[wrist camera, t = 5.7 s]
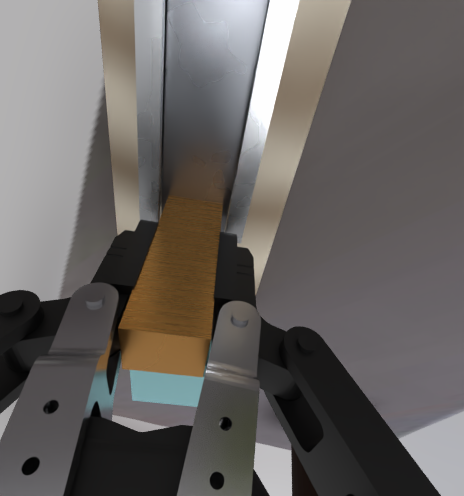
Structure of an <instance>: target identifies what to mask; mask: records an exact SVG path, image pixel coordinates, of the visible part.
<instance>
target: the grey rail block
mask: <svg viewBox="0 0 464 496" xmlns="http://www.w3.org/2000/svg"><path fill="white" fill-rule="evenodd" d="M267 6H268V0H167V25H166V61H165V98H164V134H163V171H162V207H161V217H160V220H159V224H158V227H157V229H156V232H155V235H154V237H153V240H152V243H151V245H150V248H149V251H148V253H147V256H146V259H145V261H144V264H143V266H142V269H141V272H140V274H139V277H138V280H137V282H136V285H135V288H133V290H132V293H131V296H130V298H129V301H128V304H127V306H126V309H125V311H124V314H123V317H122V319H121V322H120V325H119V327H118V332H119V341H120V351H121V360H122V369H129V370H138V371H147V372H157V373H166V374H175V375H185V376H194V377H203V374H204V369H205V364H206V360H207V355H208V350H209V346H210V341H211V332H212V321H213V310H214V289H215V278H216V267H217V257H218V246H219V235H220V232H224V231H225V226H226V221H227V216H228V210H229V205H230V200H231V195H232V189H233V184H234V179H235V174H236V168H237V163H238V158H239V153H240V147H241V142H242V137H243V132H244V126H245V121H246V116H247V111H248V105H249V100H250V95H251V90H252V84H253V79H254V74H255V69H256V63H257V58H258V53H259V48H260V42H261V37H262V32H263V27H264V21H265V16H266V11H267Z"/></svg>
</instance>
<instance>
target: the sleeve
mask: <svg viewBox="0 0 464 496" xmlns="http://www.w3.org/2000/svg"><path fill="white" fill-rule="evenodd" d="M298 3H299V0H268V6H267V11H266V16H265V21H264V27H263V32H262V37H261V42H260V48H259V53H258V58H257V63H256V69H255V74H254V79H253V84H252V90H251V95H250V100H249V105H248V111H247V116H246V121H245V126H244V132H243V137H242V142H241V147H240V153H239V158H238V163H237V168H236V174H235V179H234V184H233V189H232V195H231V202H230V208H229V213H228V218H227V223H226V229H225V232H226V233H233V234H237V243H241V241H242V237H243V233H244V228H245V224H246V220H247V216H248V212H249V208H250V203H251V199H252V195H253V191H254V187H255V183H256V178H257V174H258V170H259V166H260V162H261V158H262V153H263V149H264V145H265V141H266V137H267V133H268V128H269V124H270V120H271V116H272V112H273V107H274V103H275V99H276V95H277V91H278V87H279V82H280V78H281V74H282V70H283V66H284V62H285V57H286V53H287V49H288V45H289V41H290V37H291V32H292V28H293V24H294V20H295V16H296V12H297V7H298ZM134 22H135V60H136V99H137V137H138V175H139V214H140V220H148V221H155V222H159V220H160V207H161V204H162V171H163V134H164V98H165V61H166V25H167V0H134Z"/></svg>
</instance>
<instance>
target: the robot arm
mask: <svg viewBox="0 0 464 496" xmlns="http://www.w3.org/2000/svg"><path fill="white" fill-rule="evenodd" d="M158 224H159V222H155V221H148V220H140V221H139V223H138V225H137V228H136V230H135V231H130V230H124V231H123V232H122V233H120V234H119V235H118V236H116V237H115V239H114V241H113V243H112V245H111V248H109V250H108V252H107V255H106V256H105V257H104V259H103V261H102V263H101V265H100V267H99V269H98V270H97V272H96V274H95V276H94V278H93V280H92V281H91V283H90V284H87V285H84V286H82V287H80V288H79V289H78V290H76V291H75V292H74V294H73V295H72V297H69V298H66V299H59V300H51V301H43V302H40V300H39V298H38V296H37V295H36V294H34V293H33V292H30V291H24V290H17V291H11V292H7V293H4V294H2V295H0V413H2V412H3V411H4V410H5V409H6V408H7V407H9V406H10V405H11V404H12V403H13V402H14V401H15V400H17V399H18V398H19V399H18V401H17V403H16V405H15V408H14V410H13V412H12V415H11V417H10V419H9V421H8V424H7V426H6V428H5V431H4V433H3V435H2V438H1V440H0V496H269V494H268V492H267V491H266V489H265V487H264V485H263V484H262V482H261V480H260V479H259V477H258V475H257V474H256V472H255V470H254V469H253V468H254V454H255V441H256V428H257V415H258V402H259V388H261V389H263V390H264V392H265V395H266V397H267V399H268V400H269V402H270V404H271V406H272V408H273V410H274V412H275V414H276V416H277V418H278V420H279V421H280V423H281V425H282V427H283V429H284V431H285V433H286V435H287V437H288V439H289V441H290V442H291V444H292V446H293V448H294V450H295V452H296V454H297V456H298V458H299V460H300V462H301V463H302V465H303V467H304V469H305V471H306V473H307V475H308V477H309V479H310V481H311V483H312V484H313V486H314V488H315V490H316V492H317V494H318V496H441V495H440V494H439V493H438V491H437V490H436V489H435V487H434V486H433V485H432V483H431V482H430V481H429V479H428V478H427V477H426V475H425V474H424V473H423V471H422V470H421V469H420V467H419V466H418V465H417V463H416V462H415V461H414V459H413V458H412V457H411V455H410V454H409V453H408V451H407V450H406V449H405V447H404V446H403V445H402V443H401V442H400V441H399V439H398V438H397V437H396V435H395V434H394V433H393V431H392V430H391V429H390V428H389V426H388V425H387V424H386V422H385V421H384V420H383V418H382V417H381V416H380V414H379V413H378V412H377V410H376V409H375V408H374V406H373V405H372V404H371V402H370V401H369V400H368V398H367V397H366V396H365V394H364V393H363V392H362V390H361V389H360V388H359V386H358V385H357V384H356V382H355V381H354V380H353V378H352V377H351V376H350V374H349V373H348V372H347V370H346V369H345V368H344V366H343V365H342V364H341V362H340V361H339V360H338V359H337V357H336V356H335V355H334V353H333V352H332V351H331V349H330V348H329V347H328V345H327V344H326V343H325V341H324V340H323V339H322V337H321V336H320V335H319V334H317V333H316V332H315V331H313V330H311V329H309V328H306V327H300V326H299V327H293V328H291V329H289V330H288V331H287V332H286V331H284V330H282V329H279V328H277V327H275V326H272V325H270V324H269V323H267V322H266V321H265V320H264V319H263V318H262V317H261V316H260V314H259V312H258V311H257V308H256V296H255V276H254V257H253V256H252V254H251V252H250V251H249V249H248V248H243V247H237V234H233V233H226V232H220V235H219V246H218V257H217V267H216V278H215V289H214V310H213V321H212V332H211V351H210V355H209V359H208V364H207V368H206V372H205V376H204V380H203V385H202V389H201V393H200V398H199V402H198V406H197V411H196V415H195V419H194V424H193V426H186V425H179V426H174V427H169V428H164V429H158V430H153V431H148V432H138V431H135V430H133V429H130V428H128V427H125V426H122V425H120V424H118V423H116V422H113V421H112V411H113V399H114V394H115V389H116V383H117V378H118V373H119V368H120V363H121V351H120V341H119V332H118V327H119V325H120V322H121V319H122V317H123V314H124V311H125V309H126V306H127V304H128V301H129V298H130V296H131V293H132V290H133V288H135V285H136V282H137V280H138V277H139V274H140V272H141V269H142V266H143V264H144V261H145V259H146V256H147V253H148V251H149V248H150V245H151V243H152V240H153V237H154V235H155V232H156V229H157V227H158Z"/></svg>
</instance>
